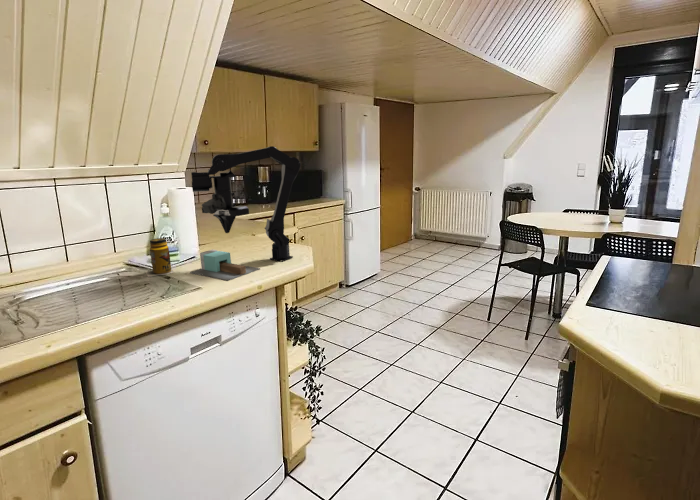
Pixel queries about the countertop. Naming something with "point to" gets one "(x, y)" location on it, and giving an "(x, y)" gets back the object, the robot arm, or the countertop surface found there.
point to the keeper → (216, 260)
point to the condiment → (159, 257)
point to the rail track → (224, 269)
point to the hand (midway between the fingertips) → (227, 233)
